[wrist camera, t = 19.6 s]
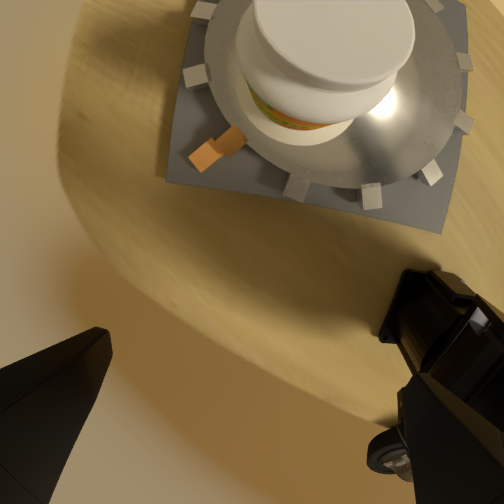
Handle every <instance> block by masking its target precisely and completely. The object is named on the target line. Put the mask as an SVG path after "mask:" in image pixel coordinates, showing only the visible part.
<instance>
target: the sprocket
mask: <svg viewBox="0 0 504 504" xmlns="http://www.w3.org/2000/svg"><path fill="white" fill-rule="evenodd" d="M405 1H406V3H407V5H408V6H409V9H410V11H411V14H412V17H413V20H414V26H415V41H414V45H413V50H412V52H411V54H410V56H409V58H408V60H407V61H406V63H405V64H404V65H403V66H402V67H401V68H400V69H399V70H398V71H397V76H396V79H395V82H394V84H393V87H392V88H391V90H390V92H389V93H388V95H387V96H386V97H385V98H384V100H383V101H382V102H381V103H380V104H378V105H377V106H376V107H375V108H374V109H372V110H371V111H369V112H367V113H366V114H364V115H362V116H359V117H357V118H354V119H351V120H348V121H345V122H341V123H337V124H333V125H330V126H326V127H323V128H320V129H315V130H309V131H298V130H292V129H288V128H285V127H282V126H280V125H278V124H276V123H274V122H272V121H271V120H270V119H268V118H267V117H266V116H265V115H264V114H263V113H262V112H261V111H260V110H259V108H258V107H257V106H256V104H255V102H254V100H253V98H252V96H251V93H250V90H249V88H248V85H247V82H246V80H245V78H244V75H243V73H242V70H241V68H240V65H239V61H238V57H237V52H236V35H237V30H238V27H239V24H240V21H241V18H242V16H243V14H244V13H245V11H246V10H247V8H248V7H249V6H250V4H251V3H252V0H220V1H219V3H218V4H213V3H207V2H201V1H197V3H196V5H195V7H194V9H193V11H192V13H191V15H190V17H191V19H192V20H193V22H194V23H196V24H202V25H207V26H208V28H207V32H206V36H205V46H204V59H205V63H204V64H200V65H196V66H193V67H189V68H186V69H183V74H184V79H185V85H186V88H187V89H189V90H190V91H194V90H198V89H202V88H206V87H210V89H211V91H212V94H213V96H214V99H215V101H216V103H217V105H218V107H219V108H220V110H221V112H222V114H223V116H224V117H225V119H226V120H227V121H228V123H229V124H230V125H231V128H229V129H228V130H227V131H226V132H225V133H224V134H222V135H221V136H220V137H219V138H218V139H217V140H216V141H215V142H214V143H215V144H216V145H217V146H218V147H219V148H220V149H221V150H222V152H223V153H224V154H225V155H226V156H227V157H228V158H229V157H232V156H233V155H234V154H235V153H236V152H237V151H239V150H240V149H241V148H242V147H243V146H245V145H246V144H248V145H249V146H250V147H251V148H252V149H253V150H255V151H256V152H257V153H258V154H260V155H261V156H262V157H263V158H265V159H266V160H268V161H269V162H271V163H273V164H274V165H276V166H277V167H279V168H281V169H283V170H285V171H287V172H289V174H288V177H287V180H286V182H285V185H284V187H283V190H282V194H283V195H284V196H286V197H289V198H292V199H294V200H297V201H300V202H302V203H303V201H304V198H305V196H306V193H307V191H308V188H309V186H310V183H311V182H314V183H318V184H322V185H327V186H331V187H339V188H348V189H356V191H357V201H358V206H359V207H360V208H361V209H363V210H369V209H377V208H382V196H381V186H384V185H388V184H391V183H394V182H398V181H400V180H402V179H405V178H407V177H409V176H411V175H413V174H414V173H416V174H417V175H418V177H419V179H420V181H421V182H422V184H425V185H428V186H432V185H433V184H434V183H435V182H437V181H438V180H439V179H440V178H441V177H442V176H443V174H442V172H441V170H440V169H439V167H438V165H437V163H436V161H435V159H434V158H435V157H436V156H437V155H438V154H439V152H440V151H441V150H442V149H443V147H444V146H445V145H446V143H447V141H448V140H449V138H450V136H451V135H452V132H453V130H454V131H455V132H457V133H458V134H459V135H469V134H470V130H471V127H472V123H473V119H472V118H471V117H469V116H468V115H467V114H466V113H464V112H463V111H462V110H460V108H461V99H462V78H461V73H466V72H470V71H473V66H472V63H471V59H470V55H469V54H465V53H459V52H456V51H455V48H454V46H453V43H452V41H451V39H450V36H449V34H448V33H447V31H446V29H445V27H444V26H443V24H442V22H441V21H440V19H439V18H438V17H437V15H436V14H437V13H438V12H440V11H441V10H443V9H444V7H443V5H442V4H441V3H440V2H439V1H438V0H405Z"/></svg>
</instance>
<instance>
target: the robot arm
mask: <svg viewBox="0 0 504 504" xmlns="http://www.w3.org/2000/svg"><path fill="white" fill-rule="evenodd" d="M409 274H410V277H409V278H407V276H408V275H409ZM383 336H385V337H384V338H383ZM378 339H379V341H380V342H381V343H391V344H397V346H398V348H399V349H400V351H401V353H402V355H403V357H404V359H405V361H406V363H407V365H408V367H409V369H410V371H411V373H412V375H413V376H412V377H411V379H410V381H409V382H408V384H407V385H406V386H405V387H402V388H401V389H400V390H399V391H398V392H397V399H398V424H397V429H398V432H399V437H400V441H401V443H402V445H403V447H404V448H405V449H406V451H407V452H408V453H407V457H408V458H409V459H410V465H411V471H412V477H413V483H414V491H415V498H416V504H504V314H503V313H502V312H501V311H500V310H498V309H497V308H496V307H494V306H493V305H492V304H490V303H489V302H488V301H486V300H485V299H484V298H482V297H481V296H480V295H478V294H475V293H474V292H473V291H472V290H471V289H470V288H469V287H468V286H467V285H466V284H465V281H464V280H462V279H461V278H458V277H457V276H455V275H454V274H452V273H447V272H442V271H437V270H430V271H428V272H423V271H418V270H412V269H407V270H405V271H404V272H403V274H402V276H401V279H400V282H399V285H398V287H397V290H396V293H395V295H394V298H393V301H392V303H391V306H390V308H389V311H388V313H387V316H386V318H385V321H384V323H383V325H382V328H381V330H380V332H379V335H378ZM112 355H113V351H112V344H111V338H110V333H109V331H108V330H107V329H104V328H100V327H93V328H91V329H89V330H86V331H84V332H82V333H80V334H78V335H75V336H73V337H71V338H69V339H66V340H64V341H62V342H59V343H57V344H55V345H53V346H50V347H48V348H46V349H44V350H41V351H39V352H37V353H35V354H33V355H30V356H28V357H26V358H24V359H21V360H19V361H17V362H14V363H12V364H10V365H7V366H5V367H3V368H1V369H0V504H49V502H50V499H51V497H52V494H53V491H54V489H55V487H56V485H57V482H58V480H59V477H60V475H61V473H62V470H63V468H64V466H65V464H66V462H67V459H68V457H69V455H70V453H71V450H72V448H73V446H74V444H75V442H76V440H77V438H78V436H79V434H80V431H81V429H82V427H83V425H84V423H85V421H86V419H87V417H88V415H89V413H90V411H91V409H92V407H93V405H94V403H95V401H96V398H97V396H98V393H99V391H100V388H101V385H102V383H103V380H104V377H105V375H106V372H107V370H108V367H109V365H110V362H111V359H112Z"/></svg>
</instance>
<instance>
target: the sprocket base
mask: <svg viewBox="0 0 504 504" xmlns="http://www.w3.org/2000/svg"><path fill="white" fill-rule="evenodd" d="M197 1H201V2H207V3H213V4H218V3H219V1H220V0H197ZM438 1H439V2H440V3H441V4H442V5H443V7H444V9H443V10H441V11H440V12H438V13H437V14H436V15H437V17H438V18H439V19H440V21H441V22H442V24H443V26H444V27H445V29H446V31H447V33H448V34H449V36H450V39H451V41H452V43H453V46H454V48H455V51H456V52H459V53H465V54H468V32H467V17H466V6H465V5H464V4H462V3H461V2H459V1H457V0H438ZM207 28H208V26H207V25H202V24H196V23H194V22H193V20H192V24H191V28H190V32H189V37H188V41H187V46H186V50H185V55H184V60H183V65H182V70H181V76H180V81H179V87H178V93H177V99H176V105H175V111H174V118H173V125H172V132H171V140H170V148H169V156H168V165H167V175H166V182H167V183H176V184H184V185H191V186H199V187H206V188H213V189H220V190H227V191H233V192H240V193H246V194H253V195H259V196H265V197H271V198H276V199H282V200H288V201H293V202H299V203H302V202H300V201H297V200H294V199H292V198H289V197H286V196H284V195H283V194H282V190H283V187H284V185H285V182H286V180H287V177H288V174H289V172H287V171H285V170H283V169H281V168H279V167H277V166H276V165H274V164H273V163H271V162H269V161H268V160H266V159H265V158H263V157H262V156H261V155H260V154H258V153H257V152H256V151H255V150H253V149H252V148H251V147H250V146H249V145H248V144H246V145H245V146H243V147H242V148H241V149H240V150H239V151H237V152H236V153H235V154H234V155H233V156H232V157H229V158H228V157H227V156H226V155H225V154H224V153H223V152H222V150H221V149H220V148H219V147H218V146H217V145H216V144H215V143H214V142H215V141H216V140H217V139H218V138H219V137H220V136H221V135H222V134H224V133H225V132H226V131H227V130H228V129H229V128H231V125H230V124H229V123H228V121H227V120H226V119H225V117H224V116H223V114H222V112H221V110H220V108H219V107H218V105H217V103H216V101H215V99H214V96H213V94H212V91H211V89H210V87H206V88H202V89H198V90H194V91H190V90H189V89H187V88H186V85H185V79H184V74H183V69H186V68H189V67H193V66H196V65H200V64H204V63H205V59H204V46H205V36H206V32H207ZM461 78H462V99H461V108H460V110H462V111H463V112H464V113H465V110H466V98H467V82H468V72H466V73H461ZM462 136H463V135H459V134H458V133H457V132H455V131H454V130H453V132H452V135H451V136H450V138H449V140H448V141H447V143H446V145H445V146H444V147H443V149H442V150H441V151H440V152H439V154H438V155H437V156H436V157H435V158H434V159H435V161H436V163H437V165H438V167H439V169H440V170H441V172H442V174H443V176H442V177H441V178H440V179H439V180H438V181H437V182H435V183H434V184H433V185H432V186H428V185H425V184H422V182H421V181H420V179H419V177H418V175H417V174H416V173H414V174H413V175H411V176H409V177H407V178H405V179H402V180H400V181H398V182H394V183H391V184H388V185H384V186H381V196H382V208H377V209H369V210H363V209H361V208H360V207H359V206H358V201H357V191H356V189H348V188H339V187H331V186H327V185H322V184H318V183H314V182H311V183H310V186H309V188H308V191H307V193H306V196H305V198H304V201H303V203H304V204H309V205H315V206H320V207H325V208H330V209H335V210H340V211H344V212H349V213H354V214H359V215H363V216H368V217H372V218H377V219H381V220H385V221H390V222H394V223H398V224H402V225H406V226H411V227H415V228H419V229H423V230H427V231H430V232H434V233H438V234H441V232H442V229H443V225H444V222H445V218H446V214H447V211H448V207H449V203H450V199H451V194H452V190H453V186H454V181H455V176H456V171H457V166H458V161H459V155H460V149H461V142H462Z"/></svg>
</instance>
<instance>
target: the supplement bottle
mask: <svg viewBox="0 0 504 504" xmlns="http://www.w3.org/2000/svg"><path fill="white" fill-rule="evenodd" d="M414 41H415V26H414V20H413V17H412V14H411V11H410V9H409V6H408V5H407V3H406V1H405V0H252V3H251V4H250V6H249V7H248V8H247V10H246V11H245V13H244V14H243V16H242V18H241V21H240V24H239V27H238V30H237V35H236V52H237V57H238V61H239V65H240V68H241V70H242V73H243V75H244V78H245V80H246V82H247V85H248V88H249V90H250V93H251V96H252V98H253V100H254V102H255V104H256V106H257V107H258V108H259V110H260V111H261V112H262V113H263V114H264V115H265V116H266V117H267V118H268V119H270V120H271V121H272V122H274V123H276V124H278V125H280V126H282V127H285V128H288V129H292V130H298V131H309V130H315V129H320V128H323V127H326V126H330V125H333V124H337V123H341V122H345V121H348V120H351V119H354V118H357V117H359V116H362V115H364V114H366V113H367V112H369V111H371V110H372V109H374V108H375V107H376V106H377V105H378V104H380V103H381V102H382V101H383V100H384V98H385V97H386V96H387V95H388V93H389V92H390V90H391V88H392V87H393V84H394V82H395V79H396V76H397V71H398V70H399V69H400V68H401V67H402V66H403V65H404V64H405V63H406V61H407V60H408V58H409V56H410V54H411V52H412V50H413V45H414Z"/></svg>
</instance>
